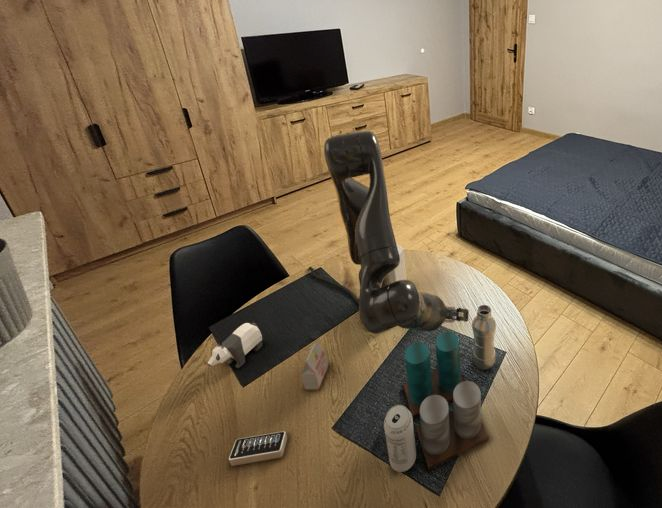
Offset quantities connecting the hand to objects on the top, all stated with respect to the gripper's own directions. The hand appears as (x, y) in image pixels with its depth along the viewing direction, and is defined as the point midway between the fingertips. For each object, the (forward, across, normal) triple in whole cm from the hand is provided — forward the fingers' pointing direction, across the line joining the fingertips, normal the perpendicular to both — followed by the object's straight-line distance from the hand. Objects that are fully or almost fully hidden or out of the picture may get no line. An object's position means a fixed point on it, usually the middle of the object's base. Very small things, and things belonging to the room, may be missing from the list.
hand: (445, 315), depth 92 cm
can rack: (+14, +6, +18) cm, 23 cm away
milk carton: (+34, +31, -10) cm, 47 cm away
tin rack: (+8, -1, +26) cm, 27 cm away
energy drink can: (+2, +8, +30) cm, 32 cm away
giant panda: (+7, +64, +14) cm, 66 cm away
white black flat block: (-4, +42, +31) cm, 52 cm away
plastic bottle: (+22, -6, +11) cm, 25 cm away
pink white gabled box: (+9, +39, +17) cm, 43 cm away
